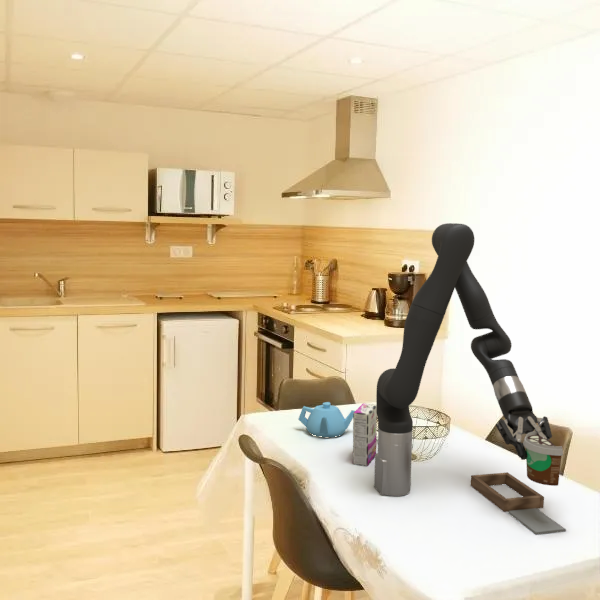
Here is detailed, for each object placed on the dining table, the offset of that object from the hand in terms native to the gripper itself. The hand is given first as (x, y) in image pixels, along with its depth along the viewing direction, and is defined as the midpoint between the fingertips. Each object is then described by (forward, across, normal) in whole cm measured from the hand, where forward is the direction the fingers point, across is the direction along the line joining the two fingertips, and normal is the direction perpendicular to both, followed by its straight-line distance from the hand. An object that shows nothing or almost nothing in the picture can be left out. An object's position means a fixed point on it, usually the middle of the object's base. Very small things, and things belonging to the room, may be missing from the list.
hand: (536, 457), depth 161 cm
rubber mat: (+12, 0, +10) cm, 16 cm away
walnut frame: (+2, +1, +21) cm, 21 cm away
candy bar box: (-23, -27, +46) cm, 58 cm away
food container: (+5, -1, +2) cm, 5 cm away
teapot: (-42, -31, +66) cm, 84 cm away
